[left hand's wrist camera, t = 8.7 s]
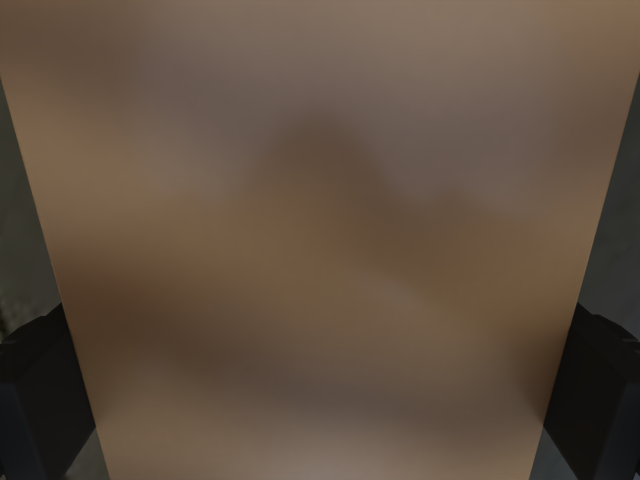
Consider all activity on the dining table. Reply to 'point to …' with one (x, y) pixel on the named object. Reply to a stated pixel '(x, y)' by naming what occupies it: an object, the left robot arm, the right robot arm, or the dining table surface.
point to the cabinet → (319, 222)
